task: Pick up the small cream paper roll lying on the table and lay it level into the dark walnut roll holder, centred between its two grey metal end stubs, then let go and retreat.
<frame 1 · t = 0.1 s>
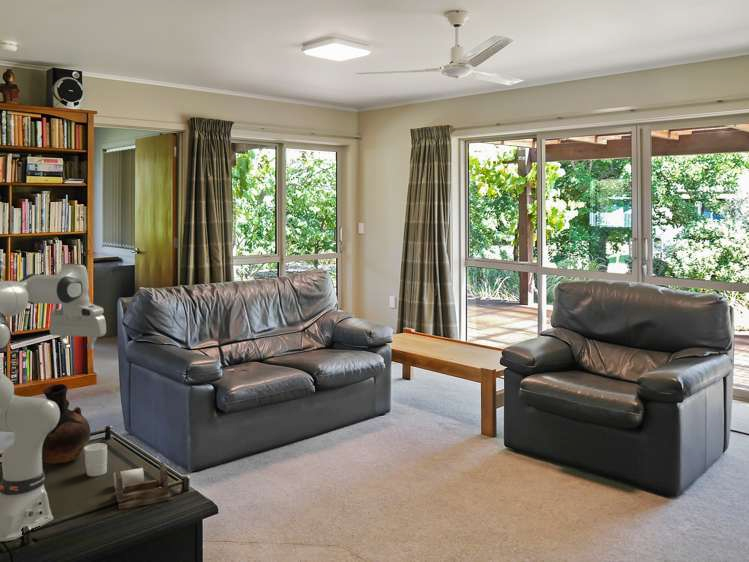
hand: (78, 348, 240), 48 cm above the table, fingers open, 8 cm apart
white cup: (97, 473, 252), on the table
ceramic vessel: (63, 461, 264), on the table
roll holder: (142, 497, 230), on the table
paper roll: (129, 485, 240), on the table
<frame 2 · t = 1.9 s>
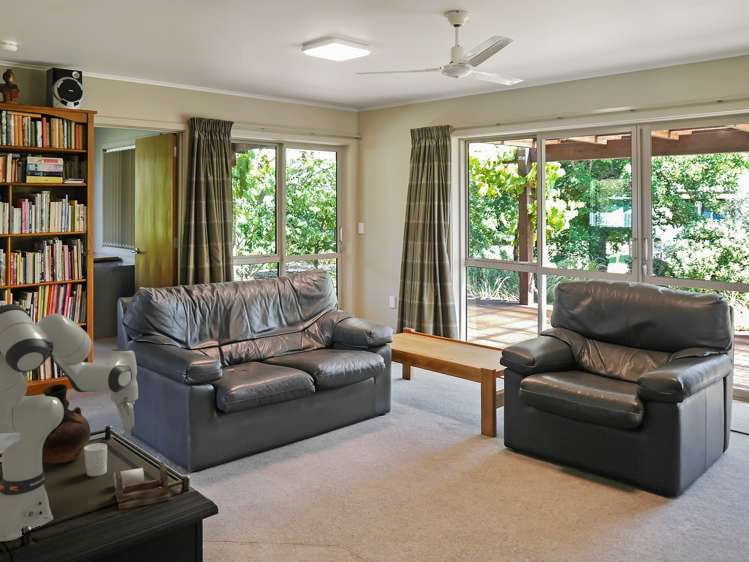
hand: (126, 433, 238), 19 cm above the table, fingers open, 8 cm apart
nothing on the table moved.
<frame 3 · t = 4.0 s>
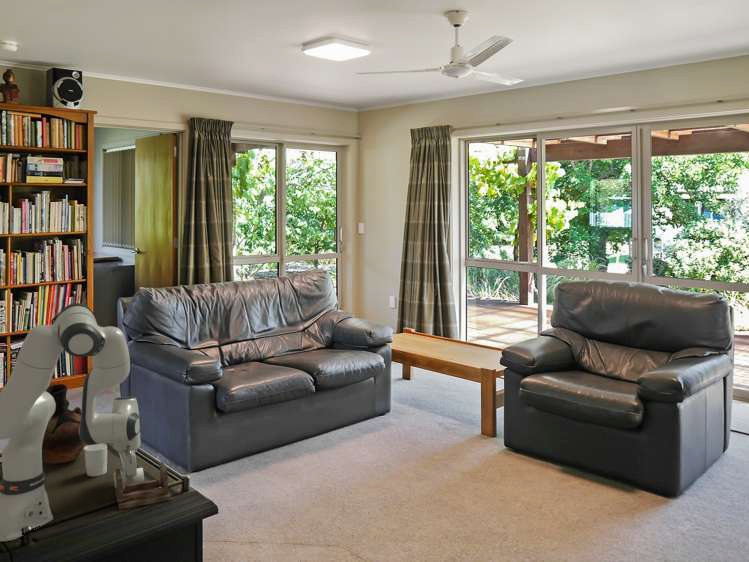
hand: (129, 480, 240), 2 cm above the table, fingers closed on paper roll, 5 cm apart
paper roll: (129, 485, 240), on the table, touching gripper
everything else where it was.
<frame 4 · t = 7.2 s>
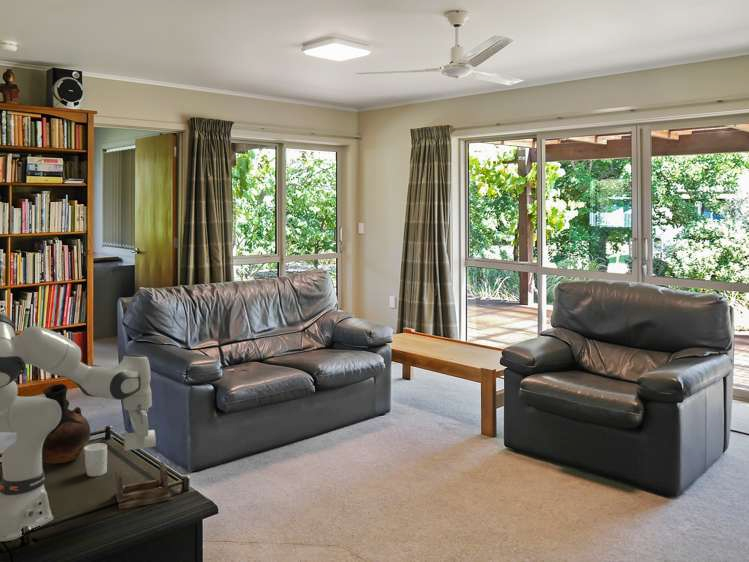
hand: (139, 442, 229), 19 cm above the table, fingers closed on paper roll, 5 cm apart
paper roll: (140, 448, 229), point 17 cm above the table, touching gripper
everything else where it was.
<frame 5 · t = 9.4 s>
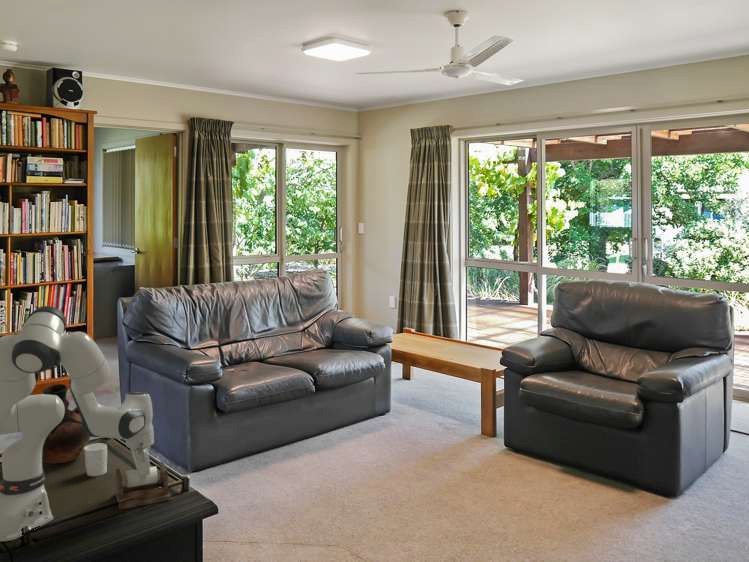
hand: (141, 479, 229), 7 cm above the table, fingers closed on paper roll, 5 cm apart
paper roll: (142, 484, 230), point 5 cm above the table, touching gripper
everything else where it was.
when the fingers open (5 cm above the table, at t = 10.8 s): paper roll drops 1 cm, resting on roll holder.
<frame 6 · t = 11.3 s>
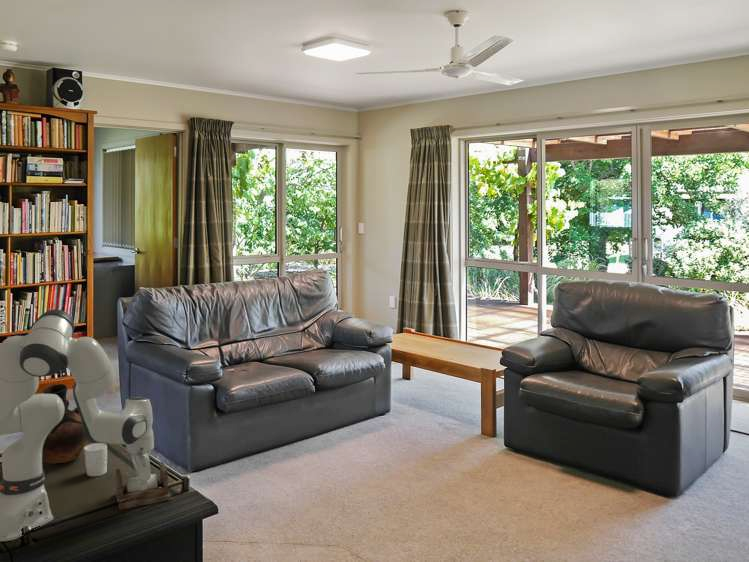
hand: (141, 483, 230), 5 cm above the table, fingers open, 8 cm apart
paper roll: (142, 492, 230), point 2 cm above the table, tilted 13°, touching roll holder
everything else where it was.
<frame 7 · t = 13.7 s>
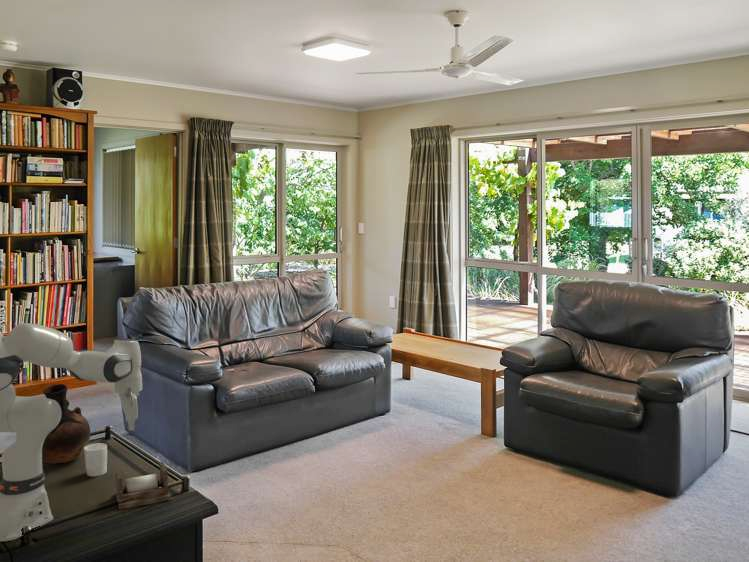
hand: (130, 425, 231), 24 cm above the table, fingers open, 8 cm apart
nothing on the table moved.
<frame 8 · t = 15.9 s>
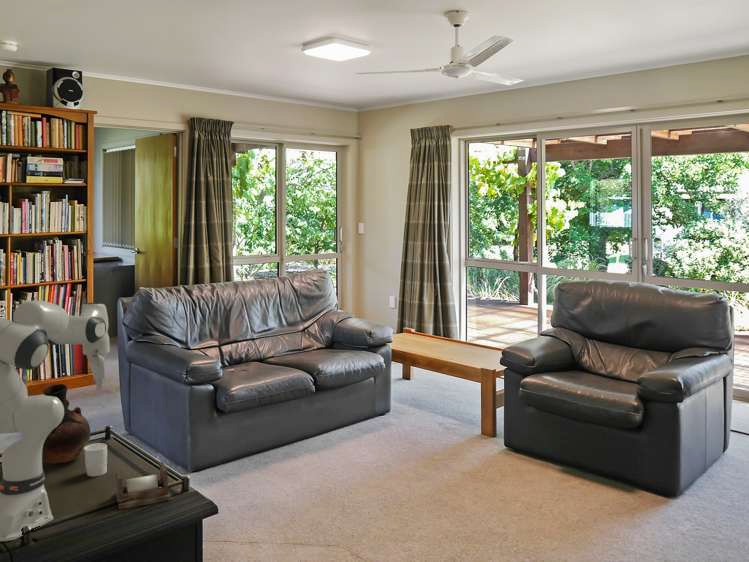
hand: (98, 386, 242), 34 cm above the table, fingers open, 8 cm apart
paper roll: (142, 493, 230), point 1 cm above the table, touching roll holder
everything else where it was.
at the end: paper roll 0.1 cm off-centre on the roll holder, point 1.5 cm above the roll holder's base; paper roll touching roll holder; the gripper is holding nothing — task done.
